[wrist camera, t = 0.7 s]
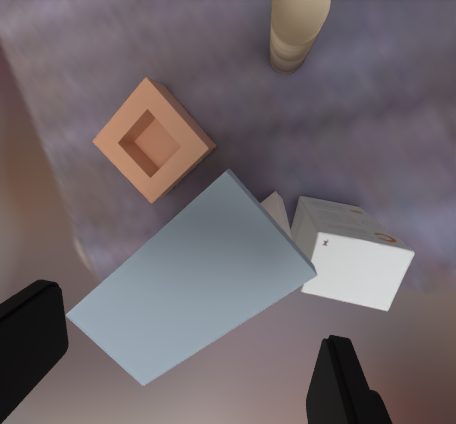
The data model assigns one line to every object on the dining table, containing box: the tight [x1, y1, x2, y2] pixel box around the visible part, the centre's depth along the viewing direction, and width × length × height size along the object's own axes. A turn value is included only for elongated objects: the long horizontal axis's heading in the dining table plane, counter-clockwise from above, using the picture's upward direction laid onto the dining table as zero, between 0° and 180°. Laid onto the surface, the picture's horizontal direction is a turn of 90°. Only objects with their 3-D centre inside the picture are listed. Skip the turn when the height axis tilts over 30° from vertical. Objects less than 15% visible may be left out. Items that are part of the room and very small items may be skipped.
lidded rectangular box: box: [66, 168, 317, 386], centre depth 26 cm, size 16×8×20 cm, turn 132°
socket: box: [92, 77, 217, 204], centre depth 32 cm, size 10×10×5 cm
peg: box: [270, 0, 331, 74], centre depth 23 cm, size 4×4×12 cm
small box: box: [290, 196, 415, 311], centre depth 28 cm, size 8×6×13 cm
